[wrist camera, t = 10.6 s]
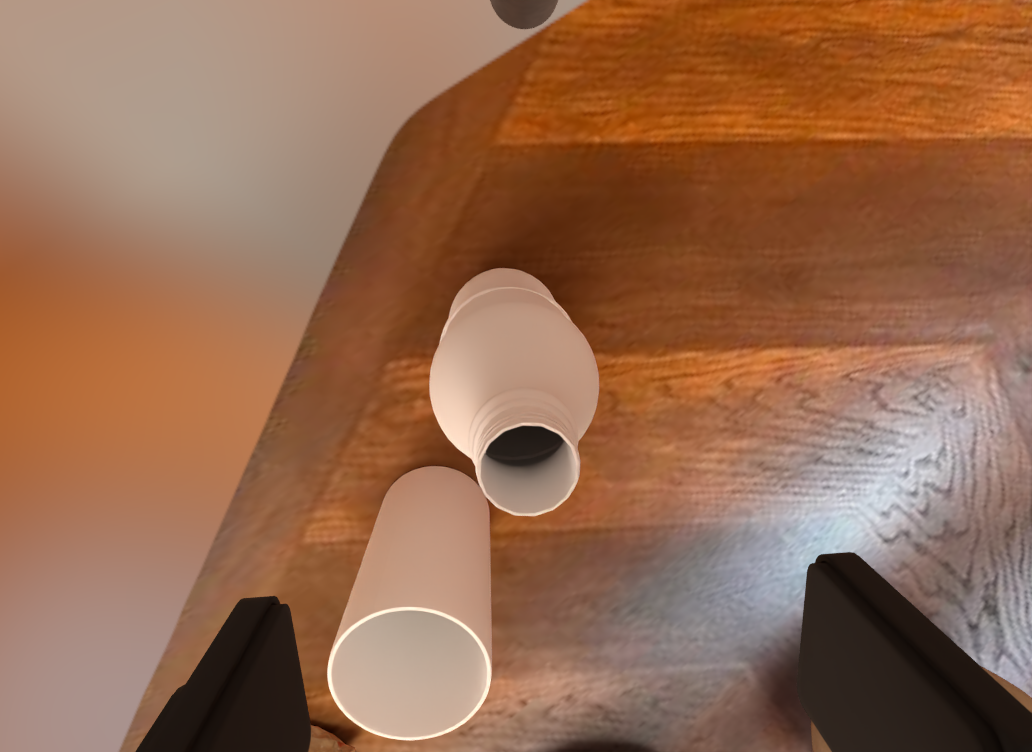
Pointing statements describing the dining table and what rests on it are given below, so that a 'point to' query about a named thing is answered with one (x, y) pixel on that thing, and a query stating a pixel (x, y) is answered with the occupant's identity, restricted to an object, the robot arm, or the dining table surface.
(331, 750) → the fossil
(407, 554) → the cup
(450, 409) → the water bottle
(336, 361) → the dining table surface
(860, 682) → the robot arm
